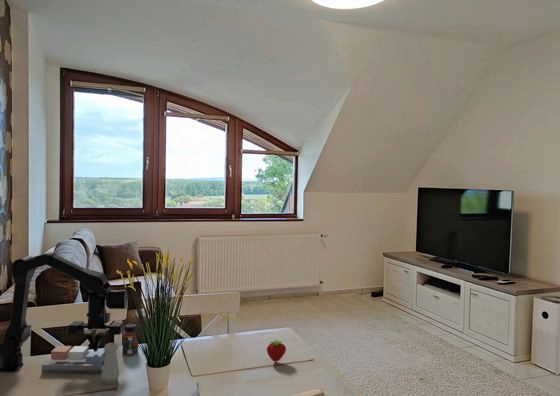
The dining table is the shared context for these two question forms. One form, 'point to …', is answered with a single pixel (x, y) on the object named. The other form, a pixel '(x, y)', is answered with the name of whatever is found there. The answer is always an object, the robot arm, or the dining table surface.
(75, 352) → the off-white square block
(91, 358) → the blue-grey square block
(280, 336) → the dining table surface
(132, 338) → the supplement bottle
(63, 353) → the key red
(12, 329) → the robot arm
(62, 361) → the panel
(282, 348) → the strawberry
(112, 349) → the salt shaker
